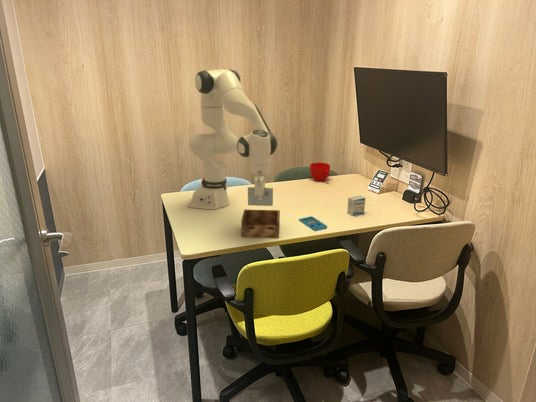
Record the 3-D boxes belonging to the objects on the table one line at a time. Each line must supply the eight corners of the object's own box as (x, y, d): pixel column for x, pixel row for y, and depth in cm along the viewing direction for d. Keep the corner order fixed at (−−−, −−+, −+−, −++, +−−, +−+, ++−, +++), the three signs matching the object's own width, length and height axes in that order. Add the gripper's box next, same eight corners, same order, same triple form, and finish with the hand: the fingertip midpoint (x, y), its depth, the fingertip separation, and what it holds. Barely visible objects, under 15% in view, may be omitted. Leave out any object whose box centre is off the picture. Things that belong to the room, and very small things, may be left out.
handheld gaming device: (314, 229, 185) (298, 218, 197) (314, 232, 185) (298, 220, 198) (329, 226, 189) (312, 215, 201) (329, 228, 189) (311, 217, 201)
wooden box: (241, 236, 179) (241, 220, 177) (244, 224, 192) (244, 209, 189) (278, 237, 179) (279, 221, 176) (279, 225, 191) (279, 210, 188)
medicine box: (352, 216, 203) (353, 200, 200) (346, 213, 206) (348, 197, 203) (364, 213, 206) (365, 197, 203) (358, 210, 210) (360, 195, 207)
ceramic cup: (319, 185, 248) (320, 170, 244) (305, 178, 262) (306, 163, 258) (336, 183, 253) (337, 168, 249) (322, 176, 267) (323, 161, 263)
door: (247, 206, 174) (247, 189, 172) (248, 204, 177) (248, 187, 174) (272, 206, 174) (272, 189, 171) (272, 204, 176) (272, 187, 174)
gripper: (266, 175, 160) (266, 207, 165) (268, 162, 179) (268, 191, 184) (250, 175, 160) (251, 206, 165) (254, 162, 179) (255, 190, 184)
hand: (260, 198), depth 175 cm, fingers closed on door, 2 cm apart
